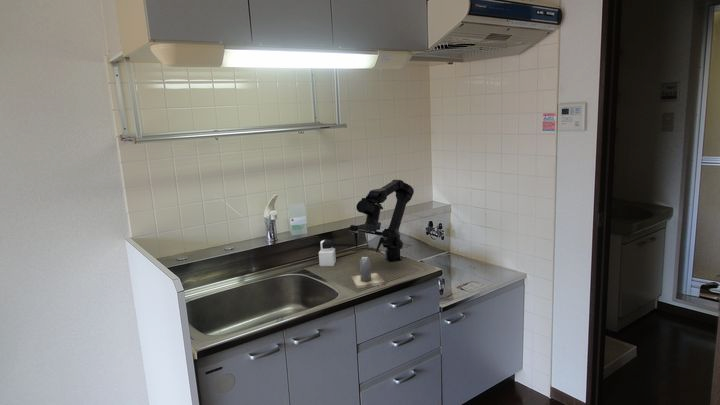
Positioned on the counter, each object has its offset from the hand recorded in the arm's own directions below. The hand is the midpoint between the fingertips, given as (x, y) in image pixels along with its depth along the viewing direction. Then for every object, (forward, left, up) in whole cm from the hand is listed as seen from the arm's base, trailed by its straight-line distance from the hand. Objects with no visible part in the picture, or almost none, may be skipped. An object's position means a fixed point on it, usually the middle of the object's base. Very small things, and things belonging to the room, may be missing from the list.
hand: (366, 250), depth 213 cm
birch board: (+3, +11, -11) cm, 16 cm away
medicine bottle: (+15, -20, -11) cm, 27 cm away
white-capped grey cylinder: (+4, +12, -9) cm, 16 cm away
